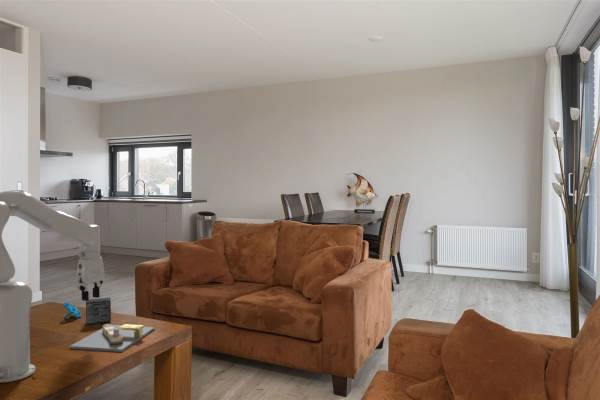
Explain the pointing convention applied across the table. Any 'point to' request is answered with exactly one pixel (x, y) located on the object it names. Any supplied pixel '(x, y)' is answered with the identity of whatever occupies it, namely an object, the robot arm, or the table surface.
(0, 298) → the robot arm
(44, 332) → the table surface
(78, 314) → the blue irregular piece
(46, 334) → the table surface
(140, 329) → the keeper
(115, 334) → the link
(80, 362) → the table surface
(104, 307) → the small box
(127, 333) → the board
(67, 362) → the table surface
